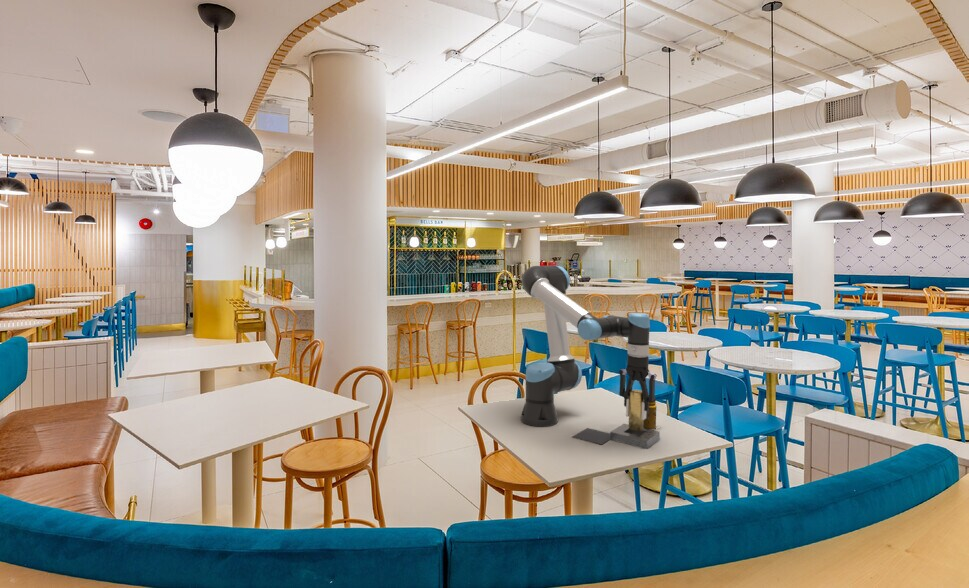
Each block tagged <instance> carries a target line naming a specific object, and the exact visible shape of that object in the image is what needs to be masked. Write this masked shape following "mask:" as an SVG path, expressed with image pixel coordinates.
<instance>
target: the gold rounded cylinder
mask: <svg viewBox="0 0 969 588" xmlns="http://www.w3.org/2000/svg"><path fill="white" fill-rule="evenodd" d="M643 401H644V398H643V394H642V390H641V389H632V390H630V394H629V416H628V425H629V429H630V430H634V431H641V430H643V420H641V417H642V402H643Z"/></svg>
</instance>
